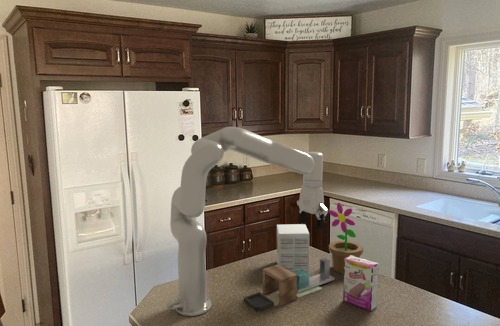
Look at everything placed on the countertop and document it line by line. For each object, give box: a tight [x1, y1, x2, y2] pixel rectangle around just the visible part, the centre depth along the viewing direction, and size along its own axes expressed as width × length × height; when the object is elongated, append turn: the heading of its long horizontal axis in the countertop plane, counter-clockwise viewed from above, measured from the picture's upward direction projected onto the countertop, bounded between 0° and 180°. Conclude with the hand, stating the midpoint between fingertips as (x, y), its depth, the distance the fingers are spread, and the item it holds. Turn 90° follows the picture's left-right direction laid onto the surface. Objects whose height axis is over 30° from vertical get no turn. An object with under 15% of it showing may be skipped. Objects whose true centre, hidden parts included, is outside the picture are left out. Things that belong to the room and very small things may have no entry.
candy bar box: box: [342, 255, 380, 312], centre depth 142 cm, size 11×5×16 cm, turn 47°
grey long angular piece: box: [292, 257, 335, 292], centre depth 157 cm, size 19×6×8 cm, turn 123°
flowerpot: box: [328, 202, 364, 275], centre depth 170 cm, size 14×14×30 cm
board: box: [297, 285, 323, 299], centre depth 155 cm, size 12×10×1 cm
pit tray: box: [243, 291, 275, 312], centre depth 144 cm, size 7×9×2 cm
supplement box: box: [276, 223, 310, 274], centre depth 174 cm, size 13×13×18 cm
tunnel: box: [262, 264, 298, 306], centre depth 149 cm, size 7×11×10 cm, turn 33°
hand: (311, 225), depth 159 cm, fingers open, 9 cm apart
